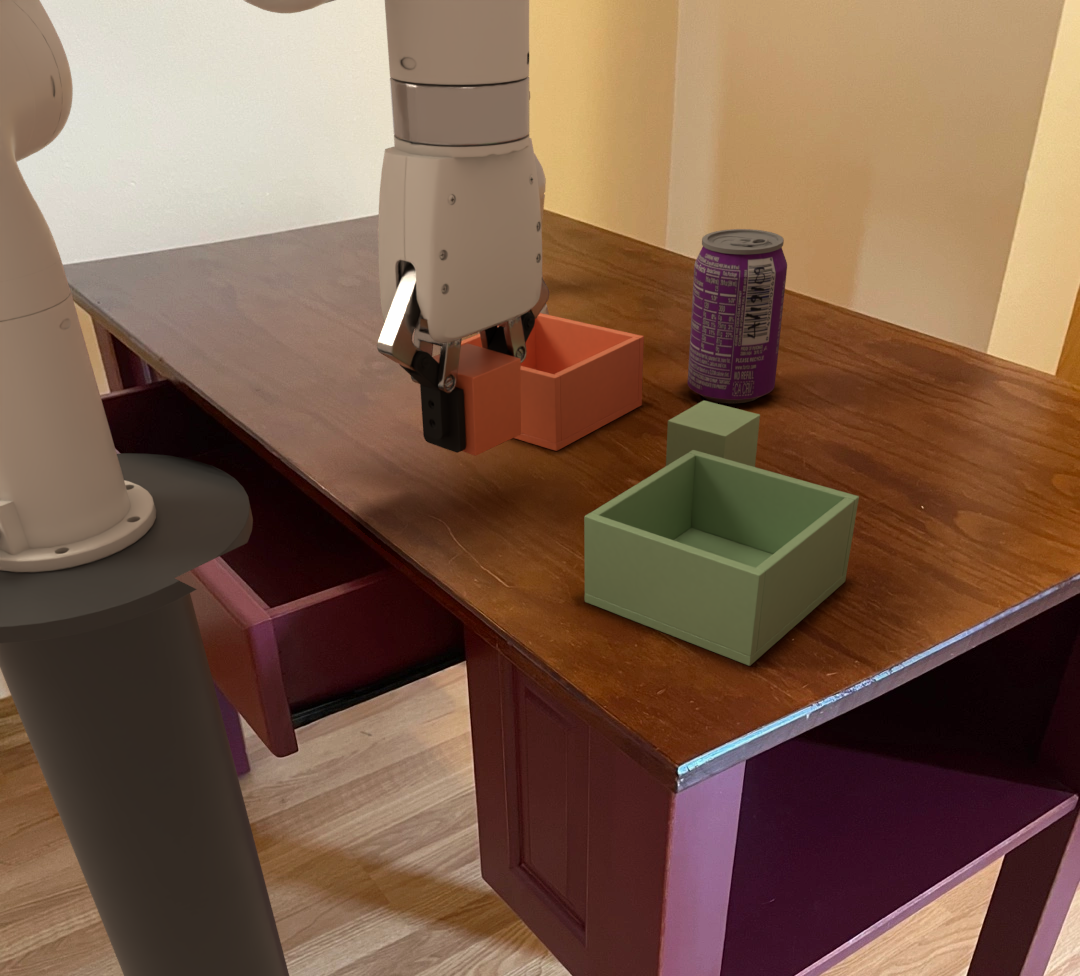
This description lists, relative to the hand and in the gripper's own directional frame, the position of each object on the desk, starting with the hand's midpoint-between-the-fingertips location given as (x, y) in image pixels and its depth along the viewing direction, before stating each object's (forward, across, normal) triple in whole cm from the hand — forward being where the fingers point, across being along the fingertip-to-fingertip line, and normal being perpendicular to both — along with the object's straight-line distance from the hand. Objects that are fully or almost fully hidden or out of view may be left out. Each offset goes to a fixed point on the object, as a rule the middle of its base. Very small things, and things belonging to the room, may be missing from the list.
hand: (472, 430), depth 70 cm
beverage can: (+5, -29, +3) cm, 29 cm away
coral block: (0, 0, 0) cm, 0 cm away
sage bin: (+5, -1, +19) cm, 19 cm away
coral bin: (+6, -17, -7) cm, 19 cm away
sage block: (+5, -13, +11) cm, 17 cm away
